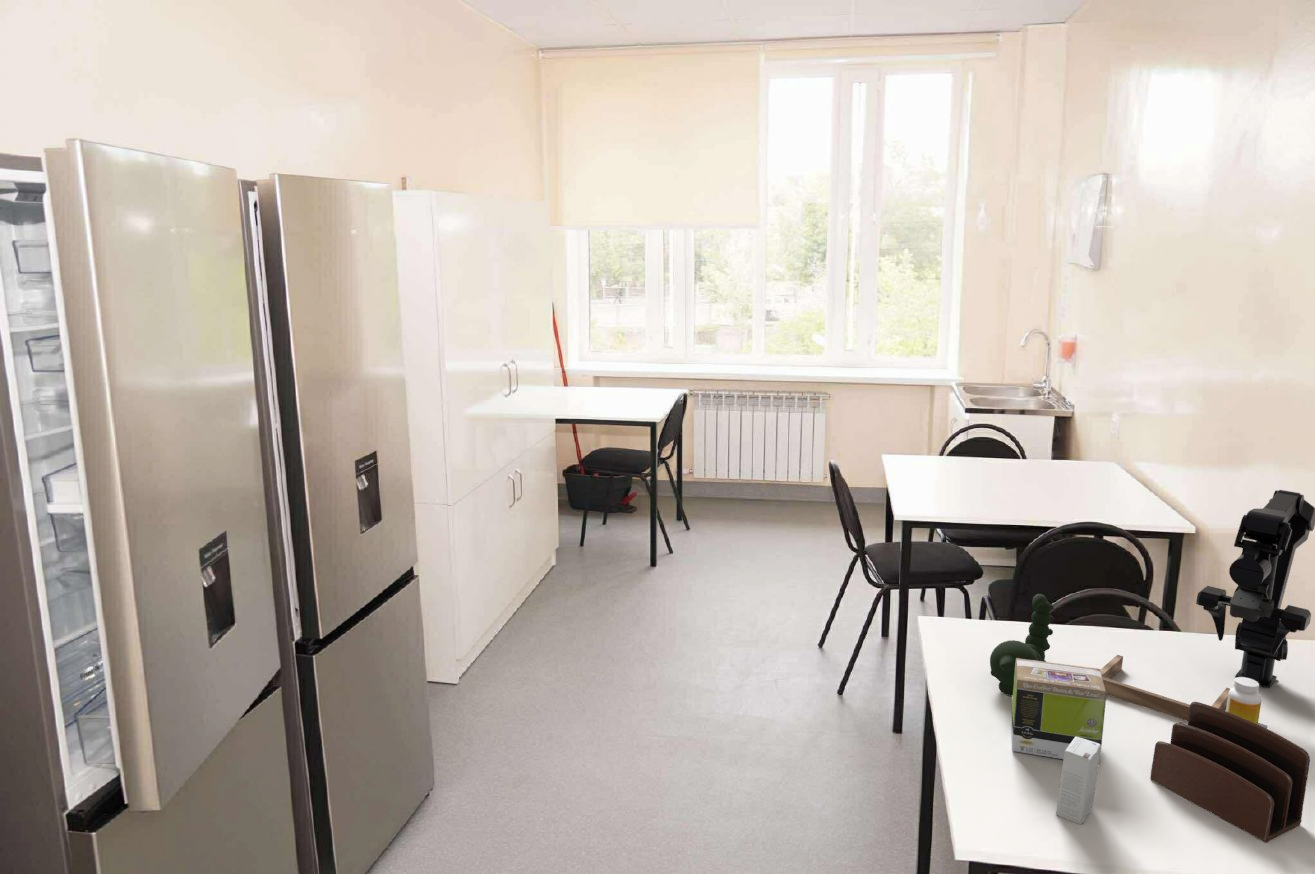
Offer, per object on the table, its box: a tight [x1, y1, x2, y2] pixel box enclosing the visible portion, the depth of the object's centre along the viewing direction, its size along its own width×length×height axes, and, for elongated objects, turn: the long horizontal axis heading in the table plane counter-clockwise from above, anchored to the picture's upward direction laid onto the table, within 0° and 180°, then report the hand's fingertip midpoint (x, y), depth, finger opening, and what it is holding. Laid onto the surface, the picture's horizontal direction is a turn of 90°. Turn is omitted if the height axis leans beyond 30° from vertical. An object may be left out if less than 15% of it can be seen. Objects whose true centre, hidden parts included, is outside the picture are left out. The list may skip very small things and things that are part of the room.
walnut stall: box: [1099, 654, 1231, 722], centre depth 192 cm, size 14×22×3 cm, turn 45°
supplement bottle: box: [1225, 677, 1262, 724], centre depth 177 cm, size 5×5×10 cm
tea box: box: [1010, 658, 1107, 765], centre depth 171 cm, size 15×10×15 cm, turn 71°
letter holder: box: [1149, 701, 1311, 844], centre depth 155 cm, size 10×20×14 cm, turn 28°
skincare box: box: [1055, 737, 1102, 825], centre depth 152 cm, size 6×4×12 cm
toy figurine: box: [989, 593, 1055, 697], centre depth 195 cm, size 9×19×25 cm
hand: (1246, 646), depth 187 cm, fingers open, 9 cm apart
